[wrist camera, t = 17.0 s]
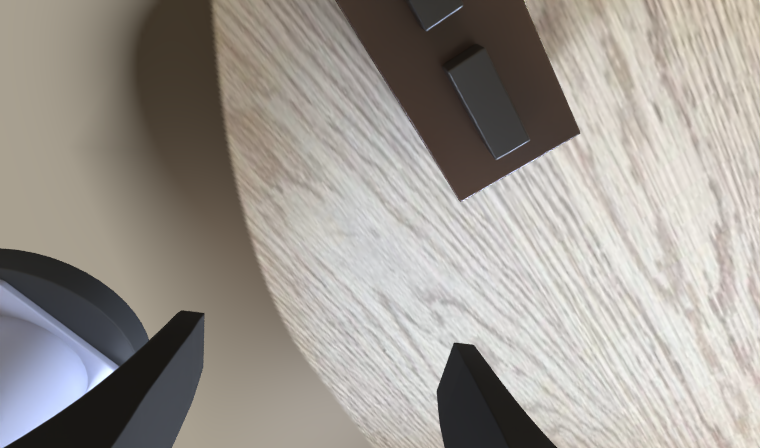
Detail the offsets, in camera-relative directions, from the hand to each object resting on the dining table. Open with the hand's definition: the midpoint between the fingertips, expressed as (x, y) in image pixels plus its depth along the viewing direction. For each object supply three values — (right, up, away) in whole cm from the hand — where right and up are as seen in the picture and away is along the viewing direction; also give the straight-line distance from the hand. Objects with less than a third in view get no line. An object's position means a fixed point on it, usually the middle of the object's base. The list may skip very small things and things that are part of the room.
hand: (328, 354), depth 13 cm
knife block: (+3, +12, +5) cm, 14 cm away
